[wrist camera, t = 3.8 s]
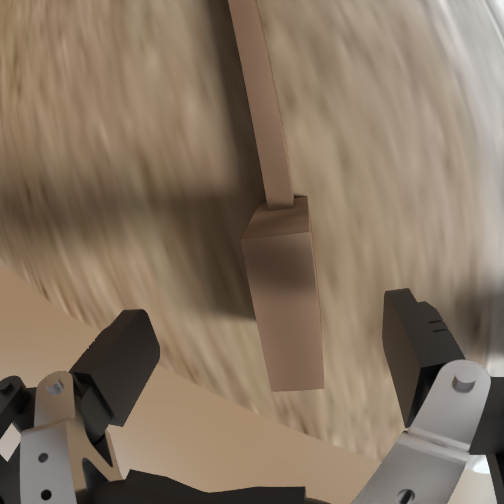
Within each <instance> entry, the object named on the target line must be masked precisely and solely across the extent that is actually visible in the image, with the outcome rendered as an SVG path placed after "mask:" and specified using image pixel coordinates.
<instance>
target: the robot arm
mask: <svg viewBox="0 0 504 504" xmlns="http://www.w3.org/2000/svg"><path fill="white" fill-rule="evenodd" d="M382 340H383V348H384V352H385V355H386V358H387V362H388V365H389V369H390V372H391V376H392V379H393V383H394V386H395V390H396V394H397V397H398V401H399V405H400V409H401V413H402V417H403V421H404V425H405V428H409V427H410V428H409V429H408V431H403V432H402V434H401V435H400V436H399V438H398V439H397V441H396V442H395V444H394V445H393V447H392V448H391V450H390V451H389V453H388V454H387V456H386V457H385V459H384V460H383V462H382V463H381V464H380V466H379V467H378V469H377V470H376V472H375V473H374V474H373V476H372V477H371V478H370V480H369V481H368V482H367V484H366V485H365V486H364V487H363V489H362V490H361V491H360V493H359V494H358V495H357V496H356V498H355V499H354V500H353V501H352V502H351V504H447V503H448V501H449V499H450V497H451V495H452V493H453V491H454V489H455V487H456V485H457V483H458V481H459V479H460V477H461V474H462V472H463V470H464V468H465V465H466V463H467V460H468V458H469V455H486V458H487V462H488V465H489V469H490V473H491V477H492V481H493V486H494V490H495V495H496V499H497V504H504V377H490V375H489V373H488V372H487V370H486V369H485V368H484V367H483V366H481V365H480V364H478V363H476V362H473V361H470V360H466V359H465V357H464V355H463V353H462V351H461V350H460V348H459V346H458V344H457V343H456V341H455V339H454V337H453V336H452V334H451V332H450V331H449V330H448V327H447V326H446V324H445V322H443V319H442V317H441V316H440V314H439V313H438V311H437V309H435V308H434V307H432V306H431V305H429V304H428V303H427V302H418V303H417V301H416V300H415V298H414V296H413V295H412V293H411V291H410V290H409V289H408V288H405V289H397V290H389V291H386V292H385V295H384V312H383V329H382ZM159 358H160V346H159V343H158V340H157V338H156V335H155V333H154V330H153V327H152V325H151V322H150V319H149V316H148V314H147V312H146V311H145V310H143V309H133V310H123V311H122V312H121V313H120V314H119V316H118V317H117V318H116V319H115V320H114V321H113V323H112V324H111V325H110V326H108V327H107V328H105V329H104V330H103V331H102V332H101V333H100V334H99V335H98V336H97V338H96V339H95V341H94V342H93V343H92V344H91V345H90V346H89V349H87V350H86V351H85V352H84V353H83V354H82V356H81V357H80V358H79V360H78V361H77V362H76V363H75V364H74V366H73V367H72V368H71V369H70V371H69V372H66V371H58V372H54V373H52V374H50V375H48V376H46V377H45V378H44V379H43V380H42V381H41V382H40V383H39V385H38V387H34V388H26V386H25V385H24V383H23V381H22V380H21V378H20V377H18V376H10V377H7V378H5V379H3V380H2V381H0V439H1V437H2V436H3V435H4V433H5V431H6V430H7V429H8V427H9V426H10V424H11V423H12V424H13V425H14V427H15V428H16V429H17V430H18V431H19V432H20V434H21V441H20V443H19V445H18V446H17V448H16V449H15V451H14V453H13V454H12V456H11V458H10V459H9V461H8V462H7V461H6V460H5V459H4V458H3V457H2V456H1V455H0V504H330V503H328V502H324V501H321V500H317V499H312V498H307V497H306V489H305V487H251V488H245V489H238V490H231V491H223V492H213V493H207V492H203V491H200V490H197V489H195V488H192V487H190V486H187V485H185V484H182V483H180V482H177V481H175V480H172V479H170V478H168V477H165V476H159V475H154V474H150V473H145V472H140V471H136V470H131V469H130V471H129V473H128V475H127V477H126V479H125V480H124V479H123V477H122V475H121V473H120V470H119V466H118V463H117V459H116V455H115V452H114V448H113V444H112V440H111V436H110V433H109V432H108V430H107V429H106V428H107V427H108V425H109V424H111V425H116V426H121V427H123V426H124V423H125V422H126V420H127V418H128V416H129V414H130V413H131V411H132V409H133V407H134V405H135V403H136V401H137V400H138V398H139V396H140V394H141V392H142V390H143V388H144V387H145V385H146V383H147V381H148V379H149V377H150V376H151V374H152V372H153V370H154V368H155V366H156V365H157V363H158V361H159Z"/></svg>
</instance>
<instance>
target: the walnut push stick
mask: <svg viewBox="0 0 504 504" xmlns="http://www.w3.org/2000/svg"><path fill="white" fill-rule="evenodd" d="M228 3H229V8H230V12H231V17H232V22H233V26H234V31H235V36H236V41H237V46H238V51H239V56H240V61H241V66H242V71H243V76H244V81H245V86H246V91H247V96H248V101H249V106H250V112H251V117H252V122H253V128H254V133H255V138H256V144H257V149H258V155H259V160H260V166H261V171H262V177H263V182H264V188H265V194H266V199H267V202H260V203H259V205H258V207H257V209H256V211H255V213H254V215H253V216H252V218H251V220H250V222H249V224H248V226H247V228H246V230H245V231H244V233H243V235H242V237H241V239H240V244H241V249H242V253H243V258H244V263H245V268H246V273H247V278H248V283H249V287H250V292H251V297H252V302H253V307H254V311H255V316H256V321H257V326H258V330H259V335H260V340H261V345H262V349H263V354H264V359H265V363H266V368H267V373H268V377H269V382H270V387H271V391H272V392H277V391H298V390H313V389H324V370H323V346H322V327H321V313H320V302H319V292H318V282H317V272H316V263H315V254H314V245H313V237H312V229H311V221H310V213H309V206H308V199H307V196H305V197H297V198H294V192H293V186H292V179H291V173H290V167H289V161H288V155H287V149H286V143H285V137H284V132H283V126H282V120H281V115H280V109H279V104H278V99H277V94H276V88H275V83H274V78H273V73H272V68H271V64H270V59H269V54H268V49H267V45H266V40H265V35H264V31H263V26H262V22H261V18H260V13H259V9H258V5H257V1H256V0H228Z"/></svg>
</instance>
